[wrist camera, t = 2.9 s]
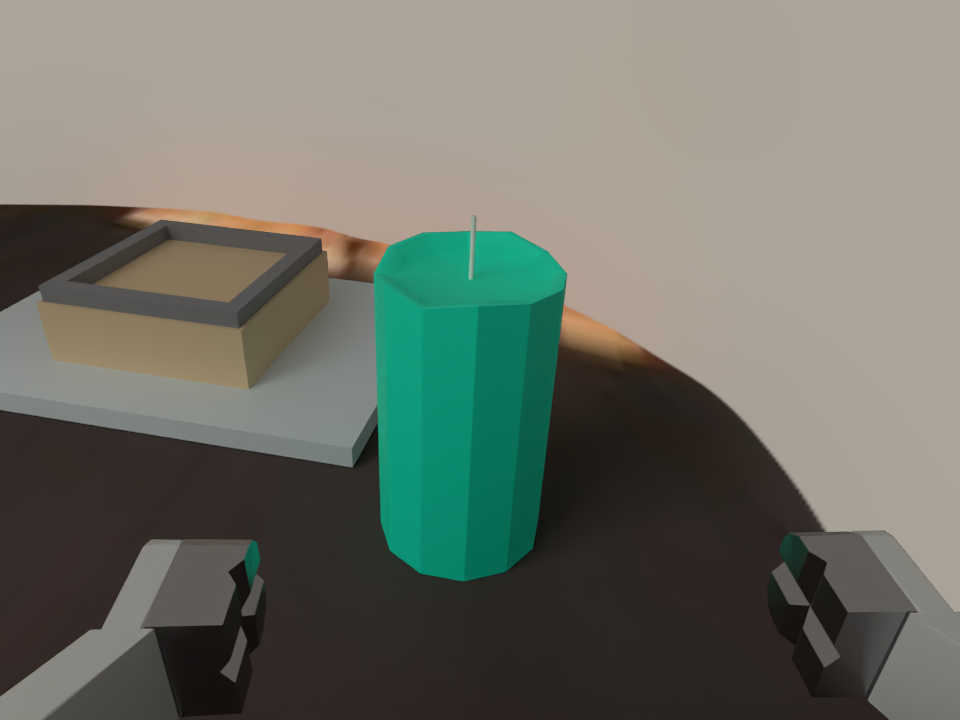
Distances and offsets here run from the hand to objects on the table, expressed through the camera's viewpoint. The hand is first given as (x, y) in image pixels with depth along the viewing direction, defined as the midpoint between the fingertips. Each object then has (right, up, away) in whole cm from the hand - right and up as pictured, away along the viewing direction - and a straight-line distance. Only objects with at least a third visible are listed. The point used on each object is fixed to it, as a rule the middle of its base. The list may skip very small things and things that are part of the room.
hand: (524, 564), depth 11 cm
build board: (-15, +4, +27) cm, 31 cm away
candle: (-1, -3, +16) cm, 16 cm away
